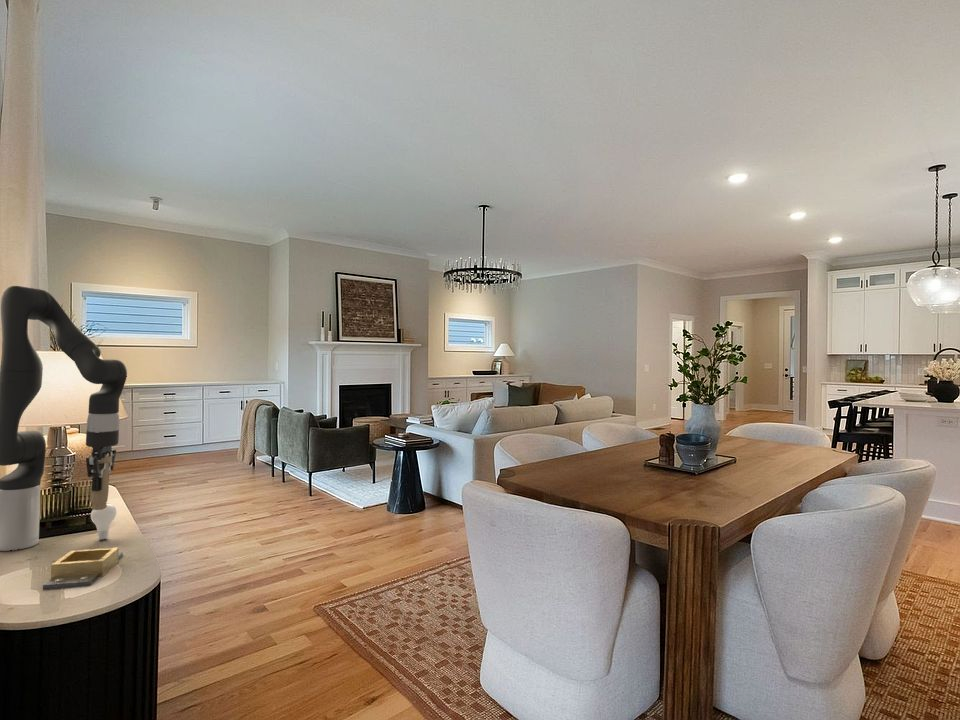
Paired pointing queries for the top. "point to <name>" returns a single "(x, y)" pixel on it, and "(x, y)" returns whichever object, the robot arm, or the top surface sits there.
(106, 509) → the lightbulb
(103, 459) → the handle
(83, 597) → the top surface
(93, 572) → the wooden frame on plate
